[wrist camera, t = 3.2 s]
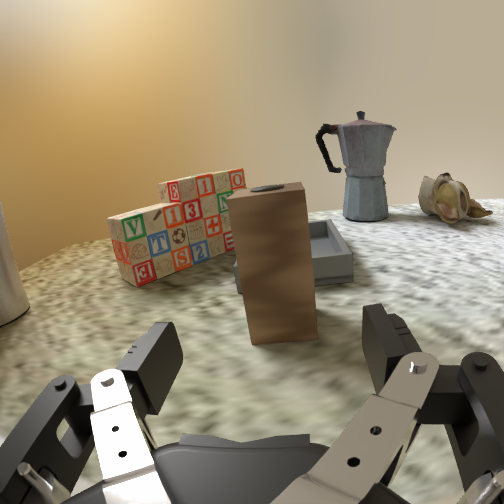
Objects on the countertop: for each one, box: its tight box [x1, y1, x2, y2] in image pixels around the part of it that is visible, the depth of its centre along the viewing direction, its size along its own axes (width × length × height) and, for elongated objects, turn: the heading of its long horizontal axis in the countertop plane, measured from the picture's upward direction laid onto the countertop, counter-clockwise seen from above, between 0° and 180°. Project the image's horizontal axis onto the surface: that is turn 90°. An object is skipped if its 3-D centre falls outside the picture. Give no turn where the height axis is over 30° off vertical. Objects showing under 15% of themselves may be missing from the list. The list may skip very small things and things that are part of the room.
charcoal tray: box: [233, 219, 353, 293], centre depth 38 cm, size 12×16×3 cm
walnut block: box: [226, 182, 318, 345], centre depth 23 cm, size 5×5×11 cm
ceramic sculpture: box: [418, 173, 493, 223], centre depth 45 cm, size 11×9×15 cm
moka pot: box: [316, 111, 396, 221], centre depth 53 cm, size 10×15×20 cm, turn 73°
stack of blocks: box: [107, 169, 247, 287], centre depth 45 cm, size 21×6×12 cm, turn 134°
